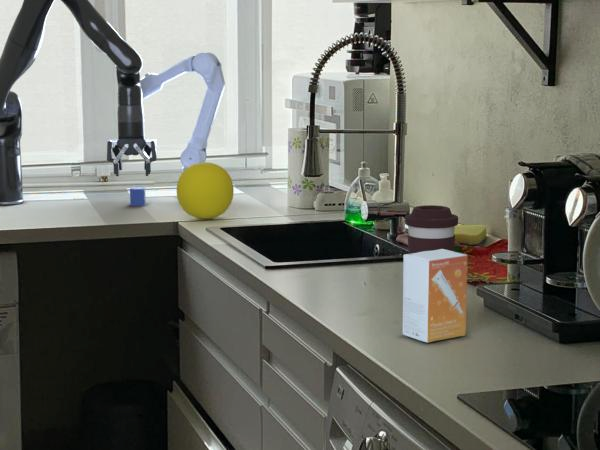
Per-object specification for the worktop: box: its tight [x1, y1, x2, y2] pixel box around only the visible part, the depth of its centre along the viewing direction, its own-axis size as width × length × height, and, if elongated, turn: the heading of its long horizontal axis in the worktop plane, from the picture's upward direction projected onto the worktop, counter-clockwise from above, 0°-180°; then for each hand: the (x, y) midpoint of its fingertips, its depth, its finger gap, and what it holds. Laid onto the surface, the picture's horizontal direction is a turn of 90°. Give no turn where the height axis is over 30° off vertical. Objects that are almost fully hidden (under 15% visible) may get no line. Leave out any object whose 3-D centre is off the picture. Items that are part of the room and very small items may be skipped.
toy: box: [176, 161, 235, 220], centre depth 278 cm, size 15×15×15 cm
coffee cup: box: [404, 204, 459, 254], centre depth 197 cm, size 10×10×15 cm
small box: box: [402, 249, 469, 344], centre depth 163 cm, size 8×6×13 cm
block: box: [129, 186, 147, 207], centre depth 306 cm, size 4×4×5 cm
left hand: (132, 175), depth 305 cm, fingers open, 8 cm apart
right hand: (133, 169), depth 321 cm, fingers open, 7 cm apart
